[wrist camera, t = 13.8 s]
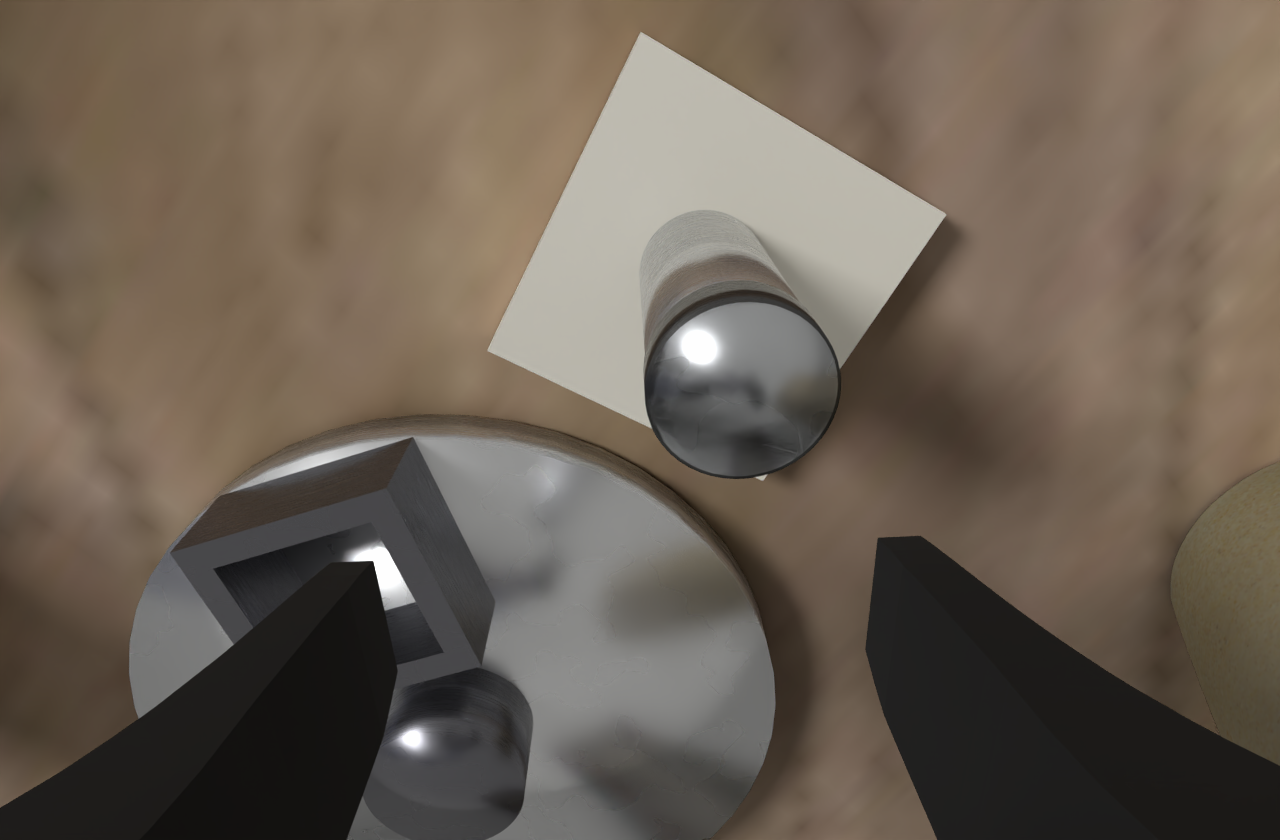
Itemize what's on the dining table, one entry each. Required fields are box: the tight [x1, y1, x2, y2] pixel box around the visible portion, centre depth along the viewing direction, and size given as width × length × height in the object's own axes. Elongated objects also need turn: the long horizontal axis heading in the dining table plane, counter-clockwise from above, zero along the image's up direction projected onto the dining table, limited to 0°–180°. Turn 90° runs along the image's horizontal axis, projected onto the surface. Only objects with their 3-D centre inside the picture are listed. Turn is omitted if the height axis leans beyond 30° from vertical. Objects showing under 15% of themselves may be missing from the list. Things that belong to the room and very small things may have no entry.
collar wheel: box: [129, 415, 776, 840], centre depth 24 cm, size 19×19×4 cm
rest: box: [488, 32, 947, 481], centre depth 19 cm, size 8×8×1 cm
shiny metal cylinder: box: [639, 210, 841, 479], centre depth 16 cm, size 3×3×7 cm
